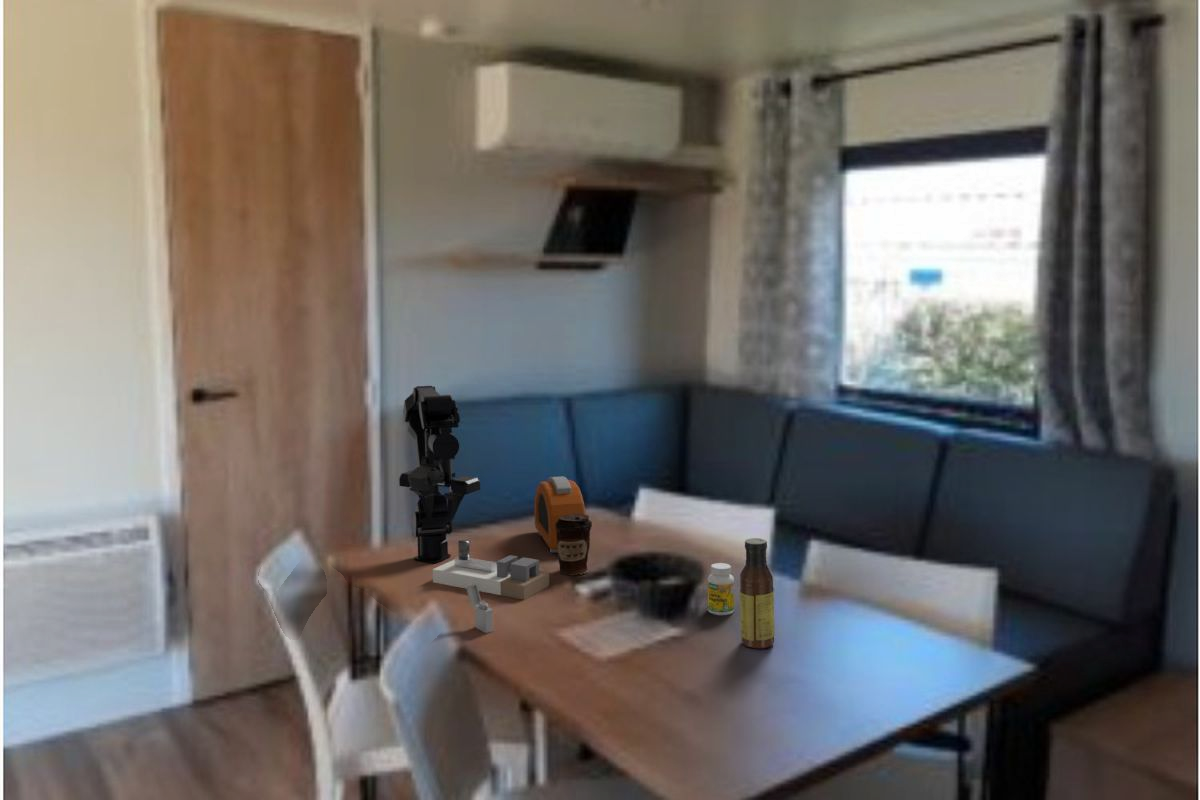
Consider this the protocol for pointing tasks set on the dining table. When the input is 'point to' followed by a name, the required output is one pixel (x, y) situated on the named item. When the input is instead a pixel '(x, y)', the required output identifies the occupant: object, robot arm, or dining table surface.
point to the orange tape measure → (555, 506)
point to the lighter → (480, 610)
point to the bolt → (472, 563)
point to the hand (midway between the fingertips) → (440, 519)
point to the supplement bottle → (721, 590)
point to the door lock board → (497, 577)
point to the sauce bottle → (756, 597)
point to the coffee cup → (573, 543)
